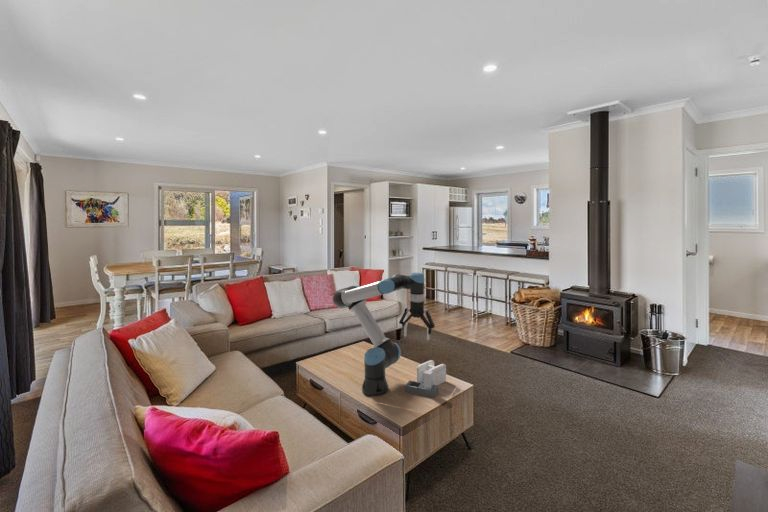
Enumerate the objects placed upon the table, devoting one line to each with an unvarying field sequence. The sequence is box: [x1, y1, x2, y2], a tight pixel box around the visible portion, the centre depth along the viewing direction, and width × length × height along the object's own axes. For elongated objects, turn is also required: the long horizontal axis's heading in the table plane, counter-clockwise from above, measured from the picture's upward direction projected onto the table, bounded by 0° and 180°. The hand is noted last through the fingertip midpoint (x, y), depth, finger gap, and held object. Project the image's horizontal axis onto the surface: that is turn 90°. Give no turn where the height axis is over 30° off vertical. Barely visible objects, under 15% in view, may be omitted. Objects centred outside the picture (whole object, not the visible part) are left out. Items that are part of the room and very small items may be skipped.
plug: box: [423, 370, 433, 390], centre depth 205 cm, size 4×5×12 cm
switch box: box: [404, 380, 439, 398], centre depth 207 cm, size 17×7×4 cm, turn 65°
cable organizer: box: [416, 359, 447, 386], centre depth 217 cm, size 15×11×12 cm
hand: (416, 337), depth 207 cm, fingers open, 13 cm apart
